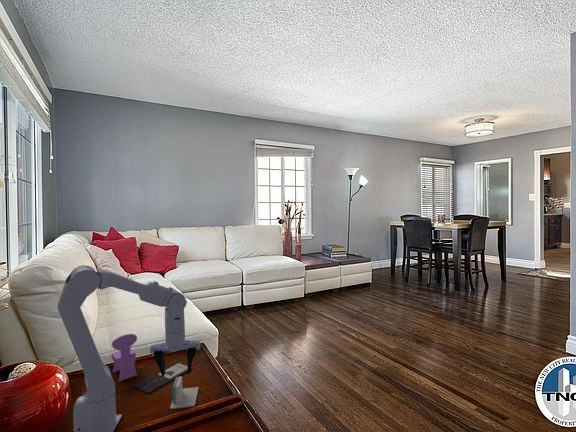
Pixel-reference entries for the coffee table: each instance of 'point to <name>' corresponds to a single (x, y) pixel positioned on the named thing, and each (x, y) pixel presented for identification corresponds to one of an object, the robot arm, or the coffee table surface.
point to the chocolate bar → (161, 378)
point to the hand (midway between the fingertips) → (176, 373)
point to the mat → (186, 398)
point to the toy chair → (124, 356)
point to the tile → (177, 390)
